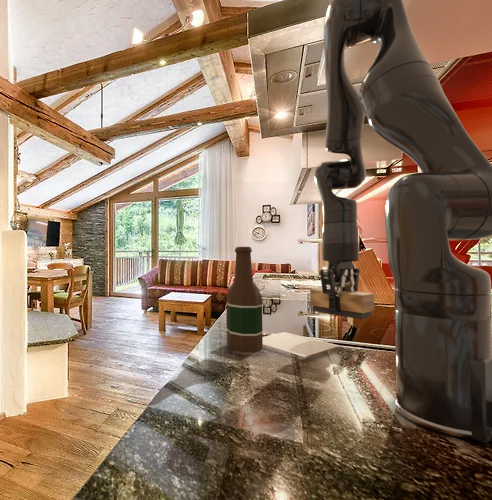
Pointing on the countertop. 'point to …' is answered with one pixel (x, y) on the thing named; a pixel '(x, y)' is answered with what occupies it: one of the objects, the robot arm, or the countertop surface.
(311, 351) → the white tile
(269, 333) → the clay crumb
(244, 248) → the beer bottle
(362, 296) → the scrub brush
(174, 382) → the countertop surface
